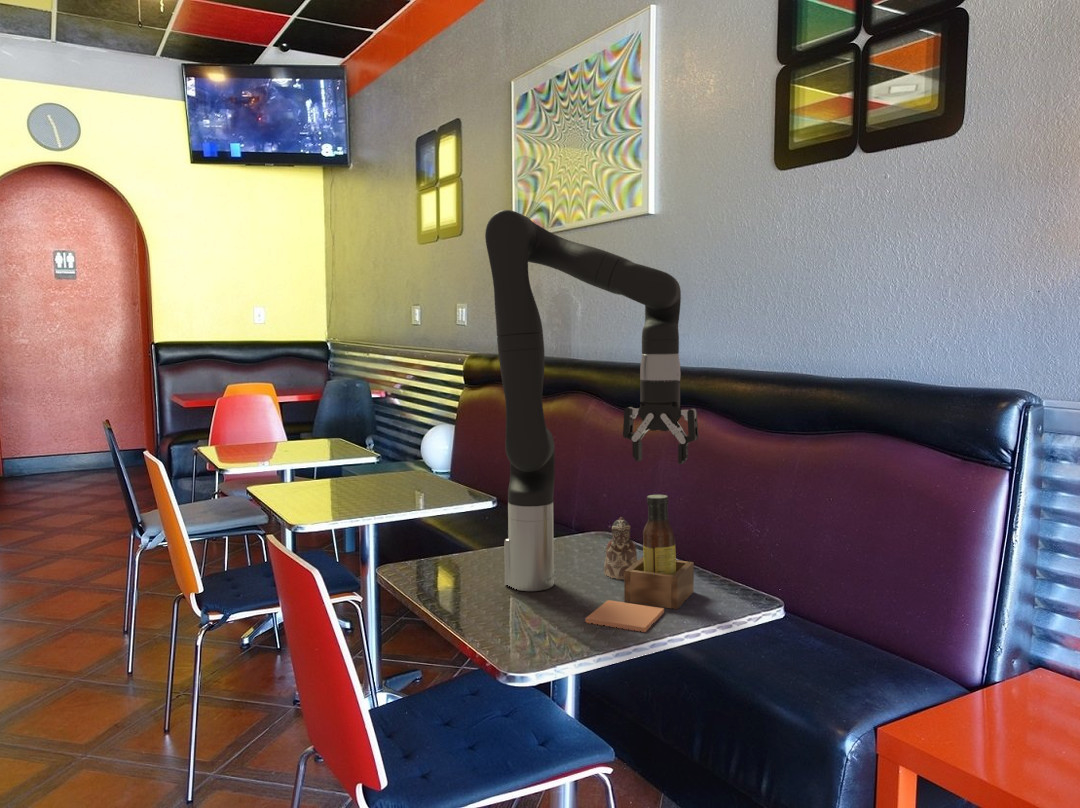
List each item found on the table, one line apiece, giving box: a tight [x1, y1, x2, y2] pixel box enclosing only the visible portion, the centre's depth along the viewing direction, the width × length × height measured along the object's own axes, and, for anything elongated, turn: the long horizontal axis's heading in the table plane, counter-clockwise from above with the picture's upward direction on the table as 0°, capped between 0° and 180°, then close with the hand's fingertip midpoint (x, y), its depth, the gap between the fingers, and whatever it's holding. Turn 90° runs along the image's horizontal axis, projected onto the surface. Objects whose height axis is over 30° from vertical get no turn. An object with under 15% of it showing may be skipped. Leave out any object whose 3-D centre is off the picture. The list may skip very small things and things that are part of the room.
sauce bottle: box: [642, 494, 677, 575], centre depth 152 cm, size 7×6×20 cm
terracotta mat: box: [584, 599, 665, 633], centre depth 141 cm, size 11×11×1 cm
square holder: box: [623, 556, 695, 610], centre depth 152 cm, size 10×11×6 cm
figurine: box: [603, 516, 638, 580], centre depth 167 cm, size 7×7×12 cm
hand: (659, 461), depth 150 cm, fingers open, 8 cm apart
